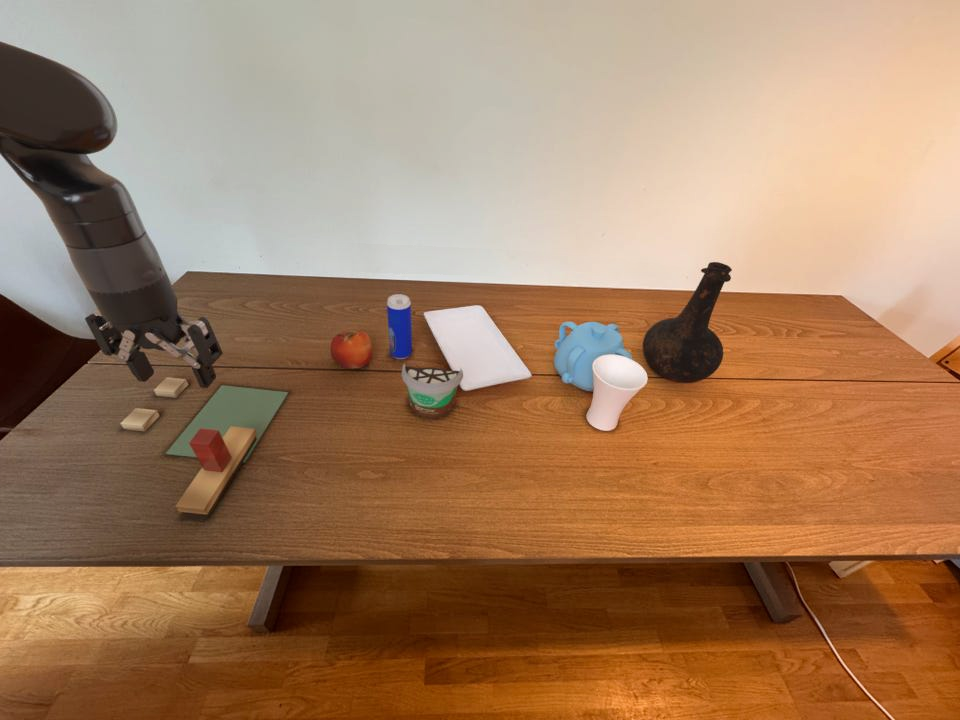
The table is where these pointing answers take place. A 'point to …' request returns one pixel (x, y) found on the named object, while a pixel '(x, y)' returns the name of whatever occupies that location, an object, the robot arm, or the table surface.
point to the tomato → (351, 349)
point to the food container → (431, 390)
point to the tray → (475, 347)
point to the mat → (232, 415)
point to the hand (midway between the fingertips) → (177, 380)
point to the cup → (613, 389)
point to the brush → (214, 468)
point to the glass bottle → (689, 334)
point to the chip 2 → (171, 387)
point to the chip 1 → (140, 419)
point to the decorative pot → (585, 351)
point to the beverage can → (399, 326)
